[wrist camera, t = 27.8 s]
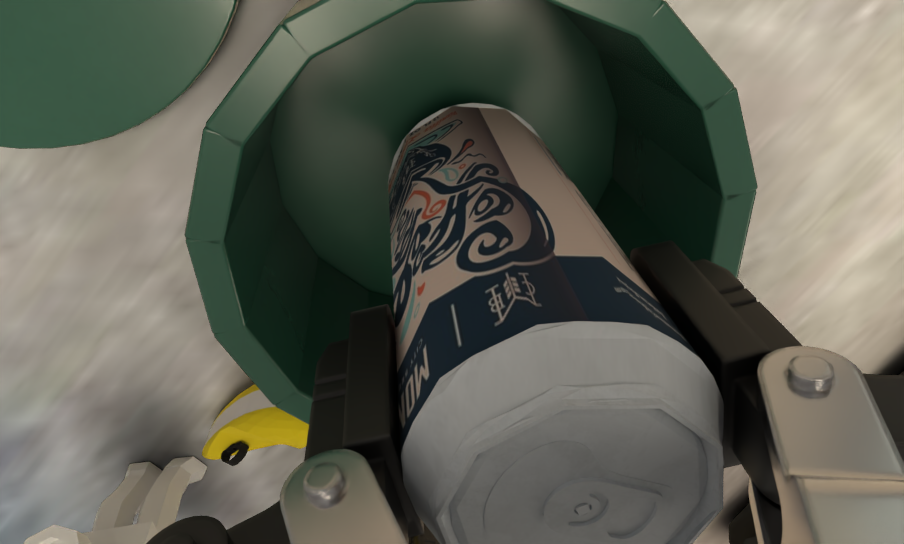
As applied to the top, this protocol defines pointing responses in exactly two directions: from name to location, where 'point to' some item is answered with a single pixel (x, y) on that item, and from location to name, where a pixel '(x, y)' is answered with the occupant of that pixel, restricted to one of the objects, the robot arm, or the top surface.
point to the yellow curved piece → (252, 428)
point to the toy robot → (134, 506)
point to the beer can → (536, 354)
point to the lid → (99, 64)
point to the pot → (412, 100)
